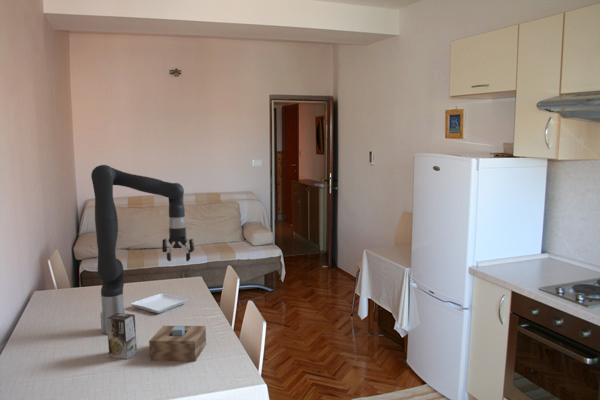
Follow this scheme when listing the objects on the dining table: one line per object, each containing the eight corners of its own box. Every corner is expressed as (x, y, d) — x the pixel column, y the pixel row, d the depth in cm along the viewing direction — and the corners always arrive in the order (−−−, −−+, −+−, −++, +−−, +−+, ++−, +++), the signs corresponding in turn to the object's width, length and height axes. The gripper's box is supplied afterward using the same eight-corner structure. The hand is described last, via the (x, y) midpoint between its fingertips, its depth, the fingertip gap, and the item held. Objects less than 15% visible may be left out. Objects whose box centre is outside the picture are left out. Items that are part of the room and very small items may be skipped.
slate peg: (173, 354, 195) (172, 330, 194) (175, 349, 199) (174, 326, 198) (183, 354, 195) (182, 330, 194) (185, 349, 199) (184, 326, 198)
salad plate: (189, 304, 257) (189, 298, 257) (158, 316, 240) (158, 310, 239) (161, 298, 269) (161, 292, 268) (129, 309, 251) (129, 303, 250)
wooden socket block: (150, 360, 189) (149, 340, 188) (164, 343, 205) (163, 325, 204) (195, 361, 188) (194, 341, 187) (206, 344, 204) (205, 325, 203)
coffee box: (137, 352, 197) (135, 314, 195) (127, 359, 191) (124, 319, 189) (119, 350, 200) (116, 312, 198) (108, 356, 194) (105, 317, 192)
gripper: (159, 227, 221) (160, 262, 222) (190, 227, 220) (191, 262, 222) (164, 225, 228) (166, 259, 230) (194, 225, 227) (196, 259, 229)
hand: (178, 260), depth 226 cm, fingers open, 8 cm apart
